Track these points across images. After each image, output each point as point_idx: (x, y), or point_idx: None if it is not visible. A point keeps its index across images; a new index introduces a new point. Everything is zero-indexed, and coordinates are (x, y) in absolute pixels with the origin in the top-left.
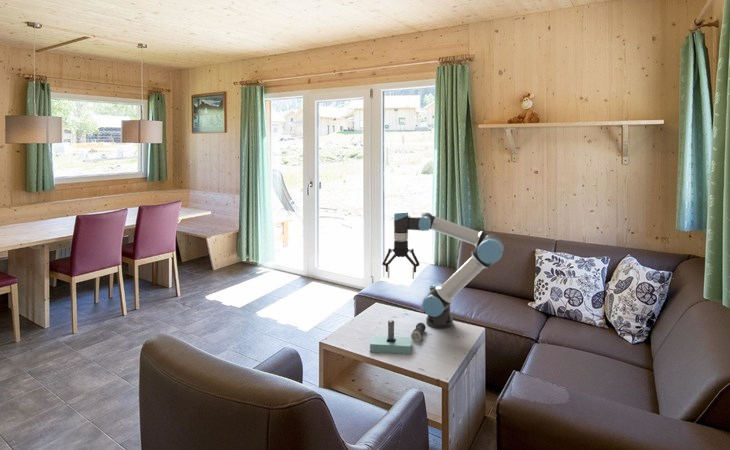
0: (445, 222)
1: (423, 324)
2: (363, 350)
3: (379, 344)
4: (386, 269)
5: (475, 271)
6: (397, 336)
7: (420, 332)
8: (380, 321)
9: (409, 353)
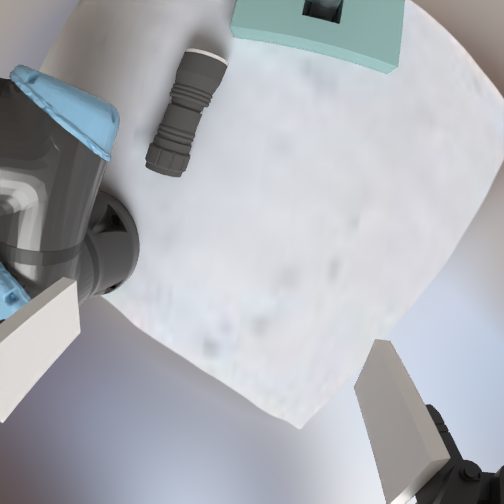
0: None
1: (150, 151)
2: (415, 24)
3: None
4: (438, 429)
5: None
6: (292, 34)
7: (181, 63)
8: (329, 283)
9: None
